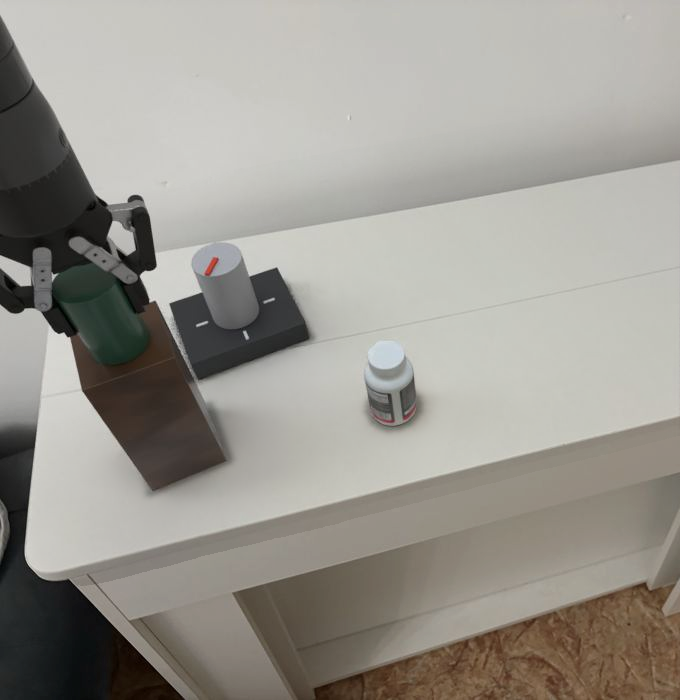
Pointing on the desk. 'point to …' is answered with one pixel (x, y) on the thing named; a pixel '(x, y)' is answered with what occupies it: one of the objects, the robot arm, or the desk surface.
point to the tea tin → (101, 313)
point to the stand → (153, 406)
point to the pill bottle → (390, 383)
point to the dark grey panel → (244, 343)
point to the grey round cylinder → (225, 285)
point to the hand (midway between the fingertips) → (105, 317)
